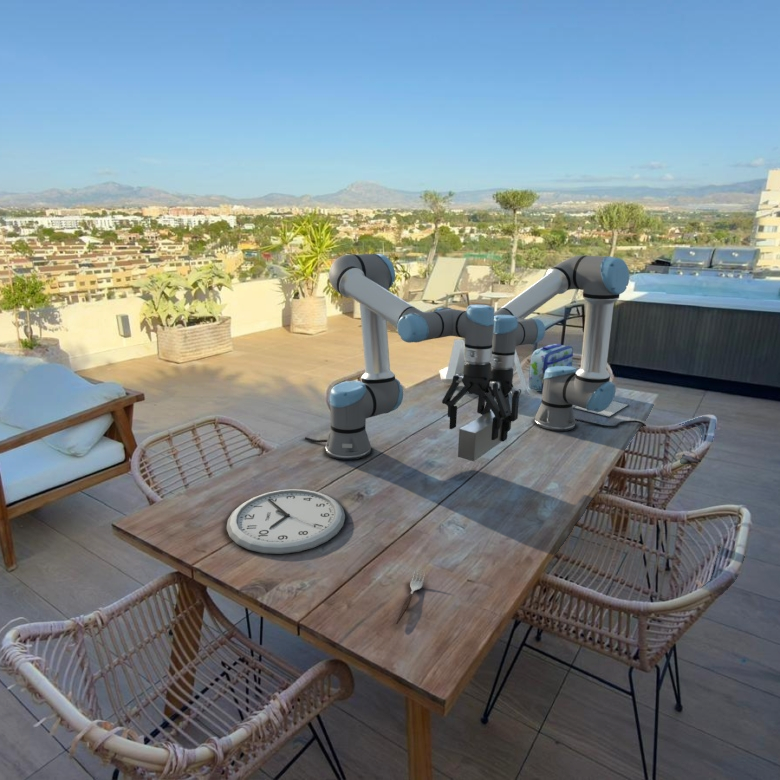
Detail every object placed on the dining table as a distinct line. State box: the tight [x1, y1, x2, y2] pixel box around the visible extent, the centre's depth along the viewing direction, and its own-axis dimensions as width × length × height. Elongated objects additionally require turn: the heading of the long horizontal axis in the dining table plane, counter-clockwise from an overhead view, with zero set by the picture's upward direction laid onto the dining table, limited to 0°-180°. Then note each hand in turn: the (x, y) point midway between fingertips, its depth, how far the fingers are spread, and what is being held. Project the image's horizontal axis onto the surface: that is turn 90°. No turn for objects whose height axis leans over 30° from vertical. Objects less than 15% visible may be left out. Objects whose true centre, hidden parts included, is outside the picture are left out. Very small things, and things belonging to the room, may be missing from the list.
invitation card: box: [573, 400, 629, 418], centre depth 226 cm, size 21×1×15 cm
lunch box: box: [528, 343, 574, 392], centre depth 248 cm, size 26×11×21 cm, turn 134°
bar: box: [457, 409, 509, 462], centre depth 158 cm, size 22×5×9 cm, turn 143°
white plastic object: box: [438, 310, 531, 397], centre depth 245 cm, size 37×45×31 cm
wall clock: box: [226, 488, 346, 555], centre depth 135 cm, size 30×2×30 cm
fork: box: [396, 568, 427, 625], centre depth 107 cm, size 3×16×2 cm, turn 160°
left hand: (473, 433), depth 151 cm, fingers open, 13 cm apart
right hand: (495, 437), depth 165 cm, fingers closed on bar, 5 cm apart
